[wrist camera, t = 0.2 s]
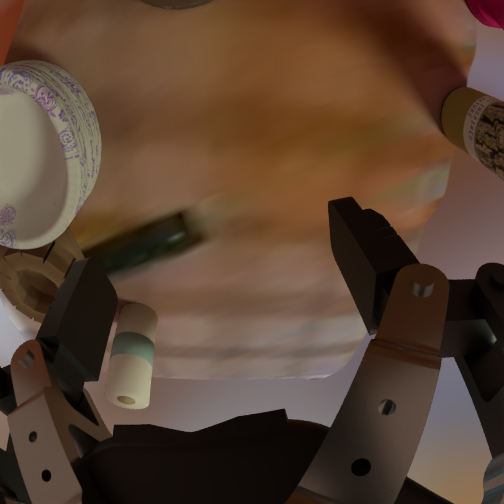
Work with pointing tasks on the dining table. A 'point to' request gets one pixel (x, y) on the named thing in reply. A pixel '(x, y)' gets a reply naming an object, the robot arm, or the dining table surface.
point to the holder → (37, 273)
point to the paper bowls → (43, 152)
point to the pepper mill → (488, 12)
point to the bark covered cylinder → (476, 126)
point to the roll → (132, 357)
